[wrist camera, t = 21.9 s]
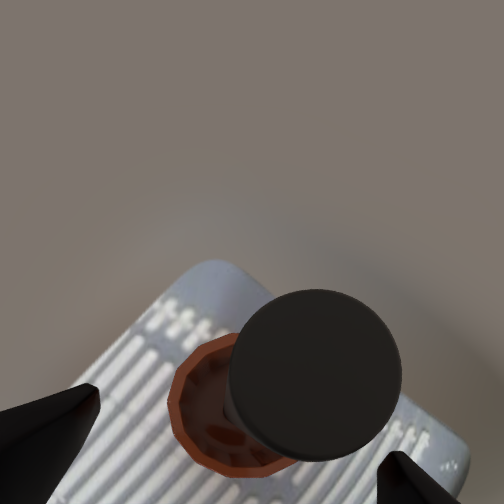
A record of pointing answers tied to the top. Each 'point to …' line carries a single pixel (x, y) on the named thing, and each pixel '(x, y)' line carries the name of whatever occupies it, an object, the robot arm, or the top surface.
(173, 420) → the pencil cup
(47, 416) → the robot arm
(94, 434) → the top surface
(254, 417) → the stylus
